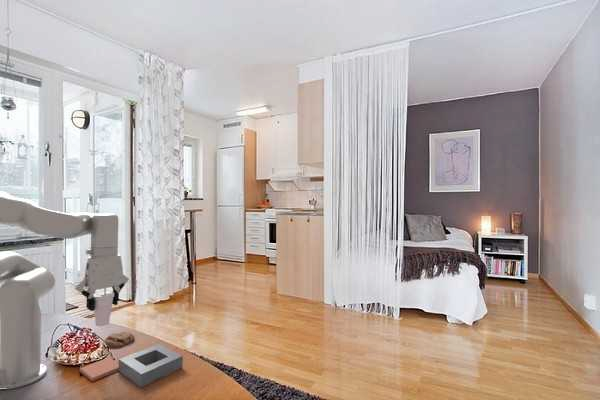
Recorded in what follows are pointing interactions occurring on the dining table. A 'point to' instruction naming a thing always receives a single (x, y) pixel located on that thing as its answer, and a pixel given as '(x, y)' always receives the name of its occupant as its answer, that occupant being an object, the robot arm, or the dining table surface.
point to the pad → (100, 369)
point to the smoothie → (103, 307)
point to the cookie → (119, 339)
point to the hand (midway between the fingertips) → (102, 306)
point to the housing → (143, 374)
